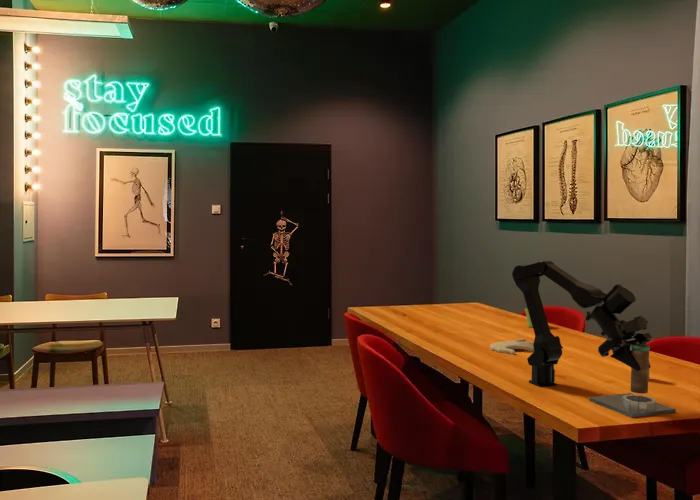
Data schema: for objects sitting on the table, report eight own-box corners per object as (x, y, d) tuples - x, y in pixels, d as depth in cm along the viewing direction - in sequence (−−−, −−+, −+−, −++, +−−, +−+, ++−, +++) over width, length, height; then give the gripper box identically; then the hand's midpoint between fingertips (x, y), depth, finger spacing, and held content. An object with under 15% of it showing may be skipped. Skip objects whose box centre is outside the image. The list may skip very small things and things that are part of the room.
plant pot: (520, 325, 320) (520, 308, 320) (534, 324, 324) (535, 307, 324) (532, 328, 312) (533, 311, 311) (547, 327, 316) (548, 310, 315)
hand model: (488, 339, 271) (537, 335, 268) (489, 350, 271) (538, 345, 268) (491, 350, 252) (543, 346, 249) (492, 362, 253) (545, 357, 249)
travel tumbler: (633, 393, 177) (634, 346, 177) (627, 388, 182) (629, 343, 181) (650, 394, 177) (652, 347, 176) (644, 389, 182) (646, 344, 181)
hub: (631, 417, 172) (631, 406, 172) (589, 400, 188) (589, 390, 188) (675, 412, 177) (675, 401, 177) (630, 396, 193) (630, 386, 193)
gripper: (609, 309, 176) (645, 356, 168) (647, 304, 187) (683, 348, 178) (583, 333, 183) (617, 379, 175) (621, 327, 194) (655, 371, 185)
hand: (644, 369), depth 178 cm, fingers closed on travel tumbler, 4 cm apart
